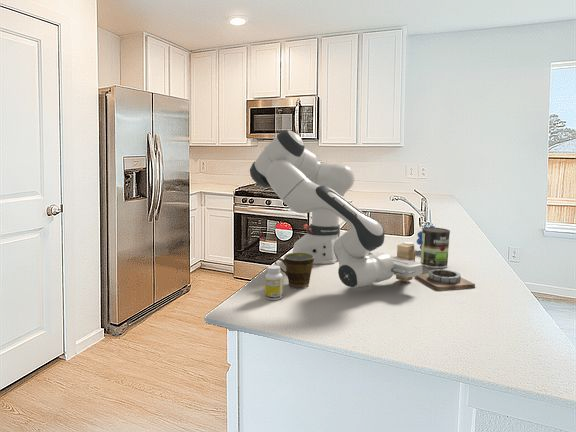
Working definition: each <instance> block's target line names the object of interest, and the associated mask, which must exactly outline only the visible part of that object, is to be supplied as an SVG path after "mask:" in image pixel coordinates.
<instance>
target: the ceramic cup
mask: <svg viewBox="0 0 576 432" xmlns="http://www.w3.org/2000/svg"><path fill="white" fill-rule="evenodd" d="M283 257H284V258H280V257H279V258H276V259H275V261H274V265H277V262H278V261H281V262H282V263H283V264H284V266H285V270H284V269H283V268H281V267H280V271H282V272H283V273H284V274H285V275H286V277H287V279H288V280H287V281H288V285H289V286H290V288H292V287H293V288H292V289H306V288H308V287H309V286H310V281H311V275H312V271H313V266H314V264H313V262H314V256H313V255H311V254H307V253H293V252H290V254H289V253H288V254H287V253H286V254H285V255H284V256H283ZM277 266H279V265H277ZM305 287H306V288H305Z"/></svg>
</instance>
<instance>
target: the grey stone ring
mask: <svg viewBox="0 0 576 432" xmlns="http://www.w3.org/2000/svg"><path fill="white" fill-rule="evenodd" d="M428 274H429V279H430V280H431V281H433V282H438V283H443V284H456V283H459V282H460V280H461V278H462V277H461V276H462V275H461V273H459V272H457V271H454V270H450V269H444V268H434V269H432V270H429V271H428ZM442 276H448V277H442Z"/></svg>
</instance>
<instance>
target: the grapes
mask: <svg viewBox="0 0 576 432" xmlns="http://www.w3.org/2000/svg"><path fill="white" fill-rule="evenodd" d="M423 228H436V226H435V225H430V226H423V227H422V229H423ZM422 229H421V231H420V230H419V232H418V233H417V237H418V238H417V239H416V244H417V245H419V249H420V250H421V248H422Z"/></svg>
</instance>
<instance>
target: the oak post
mask: <svg viewBox="0 0 576 432" xmlns="http://www.w3.org/2000/svg"><path fill="white" fill-rule="evenodd" d="M396 247H397V249H396V256H397V258H401V259H405V260H410V259H412V260H414V249H415V244H414V245H410V244H405V243H404V244H403V243H400V244H397V246H396ZM413 279H414V278H413V277H403V276H400V275H396V274H395V280H399V281H402V282H409V281H411V280H413Z"/></svg>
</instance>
